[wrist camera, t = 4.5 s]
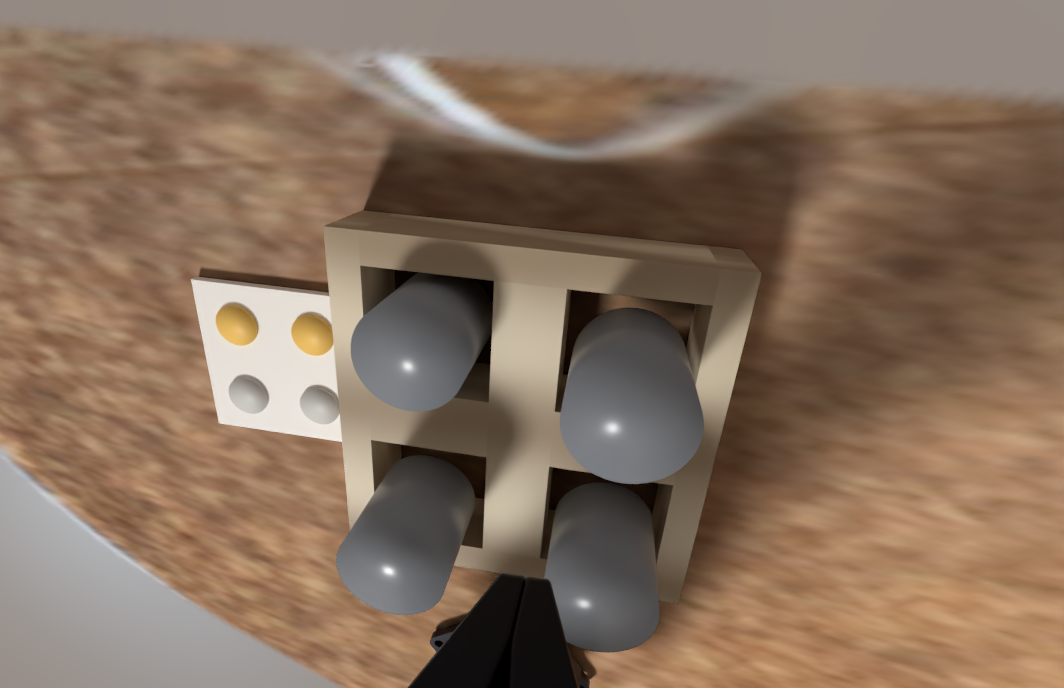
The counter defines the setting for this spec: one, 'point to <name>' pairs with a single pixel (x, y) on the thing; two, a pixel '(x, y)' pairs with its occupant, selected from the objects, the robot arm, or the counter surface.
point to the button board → (530, 368)
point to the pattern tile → (270, 356)
